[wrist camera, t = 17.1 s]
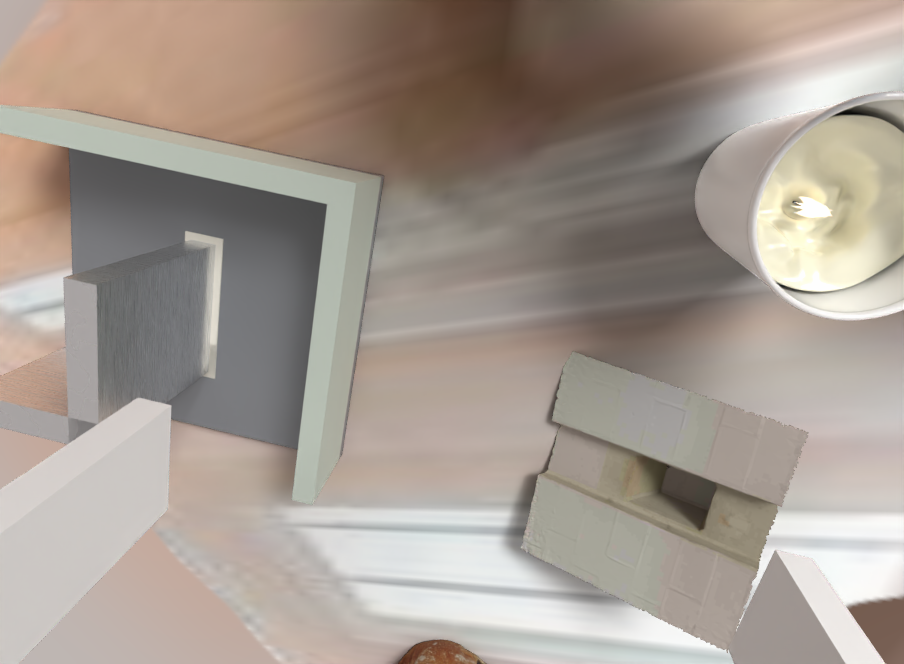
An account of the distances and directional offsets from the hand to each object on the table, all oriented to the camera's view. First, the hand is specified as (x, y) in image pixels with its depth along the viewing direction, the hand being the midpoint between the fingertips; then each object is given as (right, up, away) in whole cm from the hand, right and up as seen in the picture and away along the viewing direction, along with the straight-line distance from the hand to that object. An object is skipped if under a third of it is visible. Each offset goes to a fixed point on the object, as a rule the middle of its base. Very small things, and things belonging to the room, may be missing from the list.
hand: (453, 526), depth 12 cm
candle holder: (+20, +13, +24) cm, 34 cm away
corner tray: (-17, +7, +30) cm, 36 cm away
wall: (+13, -5, +31) cm, 34 cm away
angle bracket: (-22, +7, +30) cm, 38 cm away
